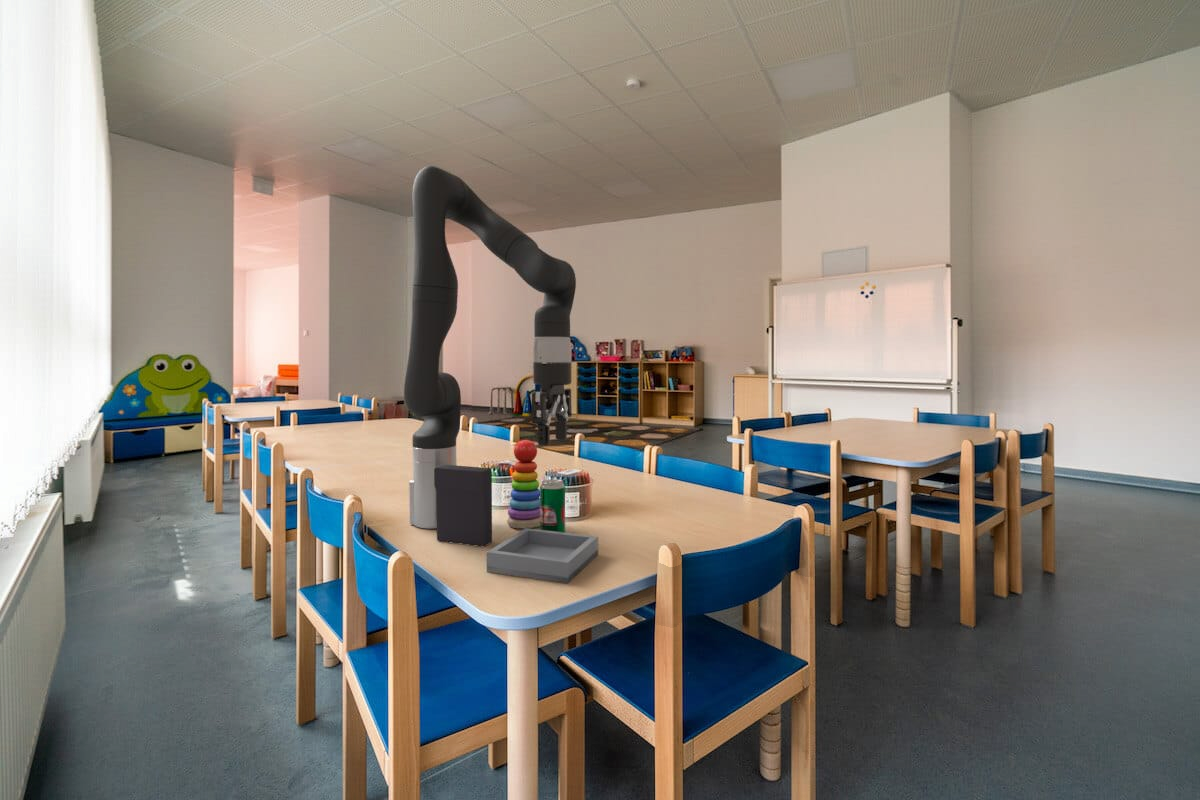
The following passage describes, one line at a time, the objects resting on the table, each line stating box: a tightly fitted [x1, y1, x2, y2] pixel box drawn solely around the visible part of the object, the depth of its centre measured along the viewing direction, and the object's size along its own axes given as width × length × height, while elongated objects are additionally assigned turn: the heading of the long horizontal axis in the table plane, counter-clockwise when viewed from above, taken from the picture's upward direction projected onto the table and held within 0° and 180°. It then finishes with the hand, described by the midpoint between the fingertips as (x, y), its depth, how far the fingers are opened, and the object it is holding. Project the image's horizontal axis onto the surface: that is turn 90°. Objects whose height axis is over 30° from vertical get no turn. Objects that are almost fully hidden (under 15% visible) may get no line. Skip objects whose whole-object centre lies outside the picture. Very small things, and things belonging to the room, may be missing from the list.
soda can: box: [539, 478, 566, 533], centre depth 118 cm, size 5×5×12 cm
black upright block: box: [434, 464, 493, 547], centre depth 117 cm, size 11×4×15 cm, turn 71°
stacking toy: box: [506, 439, 540, 530], centre depth 129 cm, size 8×8×19 cm
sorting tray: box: [486, 528, 599, 584], centre depth 105 cm, size 15×15×4 cm
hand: (552, 442), depth 117 cm, fingers open, 8 cm apart
